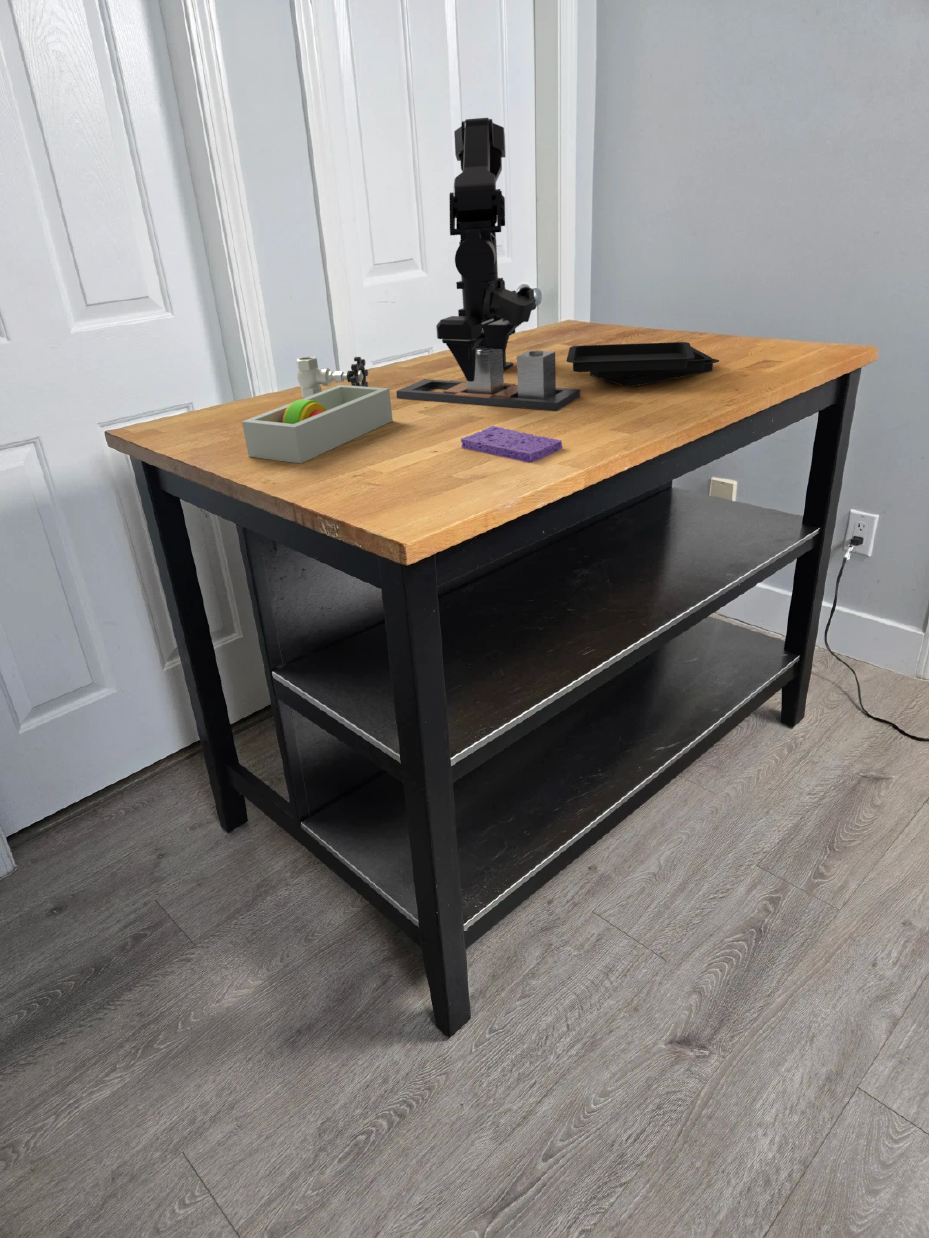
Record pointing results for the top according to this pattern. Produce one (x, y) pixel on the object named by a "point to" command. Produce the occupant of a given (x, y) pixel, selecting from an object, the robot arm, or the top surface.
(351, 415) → the box
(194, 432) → the top surface
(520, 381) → the grey metal block
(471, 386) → the knobbed block
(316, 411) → the green arched piece
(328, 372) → the valve
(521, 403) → the rail
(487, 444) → the sponges
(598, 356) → the tray
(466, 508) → the top surface
